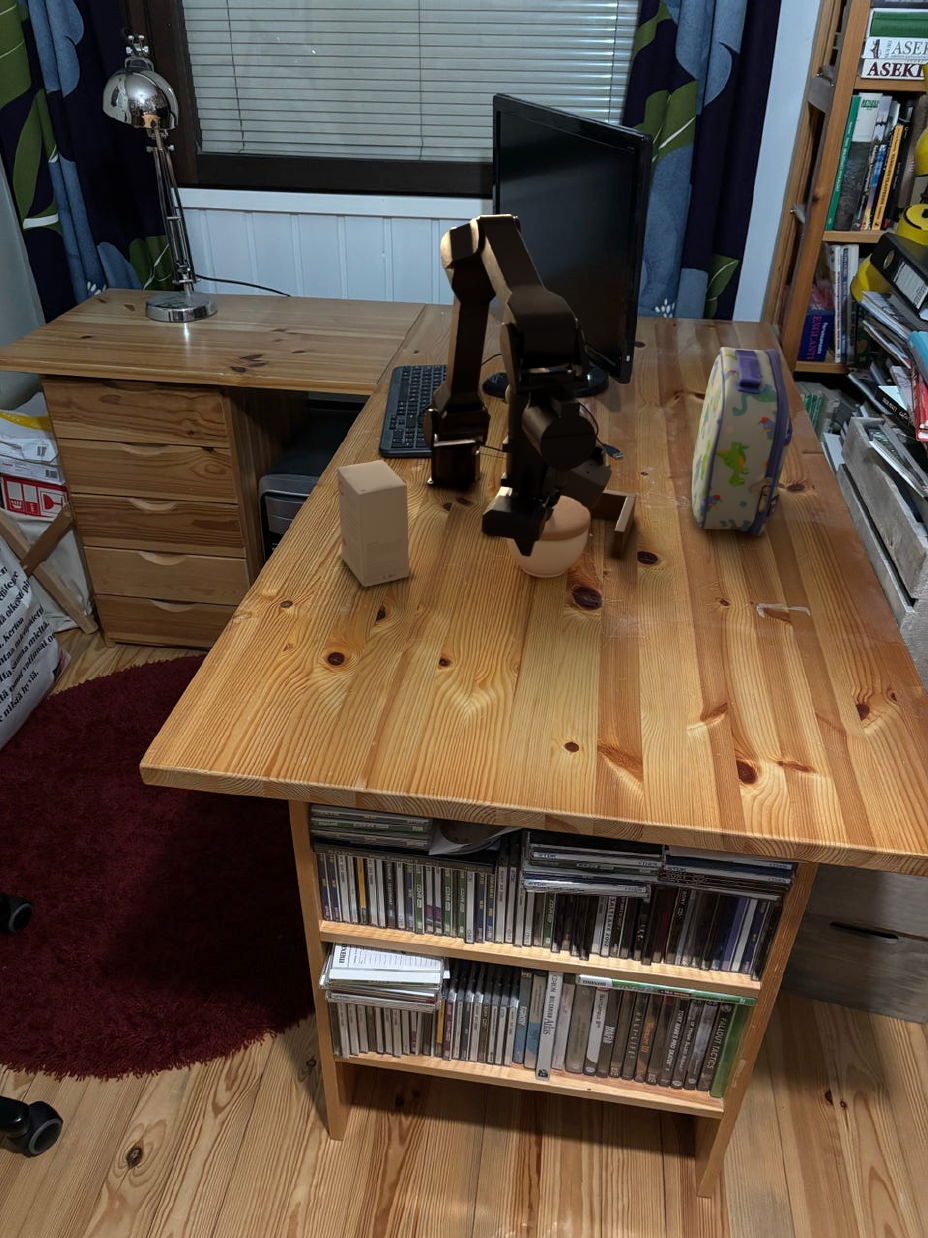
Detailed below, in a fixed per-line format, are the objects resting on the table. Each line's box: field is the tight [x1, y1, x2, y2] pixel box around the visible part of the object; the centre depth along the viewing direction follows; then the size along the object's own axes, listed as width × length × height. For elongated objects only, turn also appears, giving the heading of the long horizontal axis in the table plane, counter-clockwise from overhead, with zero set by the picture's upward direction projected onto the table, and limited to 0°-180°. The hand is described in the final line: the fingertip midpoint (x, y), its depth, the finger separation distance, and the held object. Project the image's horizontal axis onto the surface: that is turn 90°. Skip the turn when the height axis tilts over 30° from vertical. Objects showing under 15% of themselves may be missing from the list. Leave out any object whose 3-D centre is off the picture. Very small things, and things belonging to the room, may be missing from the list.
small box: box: [336, 459, 410, 588], centre depth 116 cm, size 8×6×13 cm
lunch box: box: [691, 346, 794, 537], centre depth 130 cm, size 26×11×21 cm, turn 169°
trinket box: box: [505, 495, 592, 579], centre depth 119 cm, size 11×11×9 cm
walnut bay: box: [486, 486, 637, 559], centre depth 128 cm, size 18×11×4 cm, turn 73°
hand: (526, 554), depth 108 cm, fingers closed
